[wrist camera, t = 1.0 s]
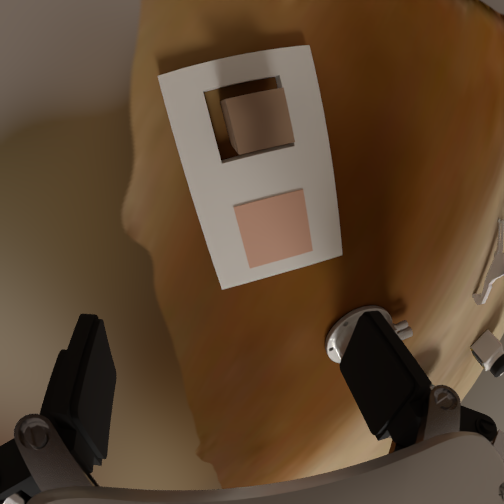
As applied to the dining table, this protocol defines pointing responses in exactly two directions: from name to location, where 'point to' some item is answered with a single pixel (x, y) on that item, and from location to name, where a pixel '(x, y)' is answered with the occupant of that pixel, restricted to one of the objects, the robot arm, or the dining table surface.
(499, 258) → the llama figurine
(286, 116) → the walnut block
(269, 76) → the pocket board
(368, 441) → the dining table surface
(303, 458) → the dining table surface
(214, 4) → the dining table surface
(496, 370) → the medicine bottle
